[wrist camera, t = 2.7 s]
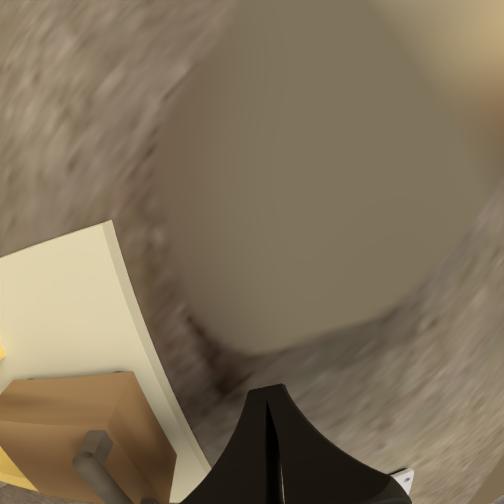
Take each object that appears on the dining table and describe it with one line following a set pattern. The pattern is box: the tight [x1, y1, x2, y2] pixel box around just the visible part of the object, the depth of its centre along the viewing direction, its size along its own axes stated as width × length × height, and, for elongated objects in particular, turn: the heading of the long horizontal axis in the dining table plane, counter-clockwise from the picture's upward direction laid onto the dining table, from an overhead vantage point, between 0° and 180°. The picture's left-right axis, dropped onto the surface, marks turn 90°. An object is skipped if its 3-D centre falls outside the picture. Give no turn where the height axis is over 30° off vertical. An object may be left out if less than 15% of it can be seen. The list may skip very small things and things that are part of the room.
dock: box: [0, 220, 211, 502], centre depth 12 cm, size 16×17×3 cm
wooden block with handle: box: [0, 371, 177, 504], centre depth 10 cm, size 5×7×6 cm
